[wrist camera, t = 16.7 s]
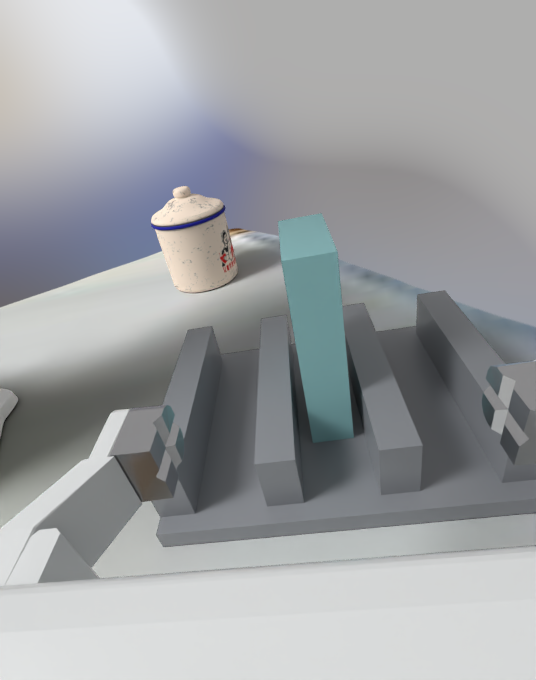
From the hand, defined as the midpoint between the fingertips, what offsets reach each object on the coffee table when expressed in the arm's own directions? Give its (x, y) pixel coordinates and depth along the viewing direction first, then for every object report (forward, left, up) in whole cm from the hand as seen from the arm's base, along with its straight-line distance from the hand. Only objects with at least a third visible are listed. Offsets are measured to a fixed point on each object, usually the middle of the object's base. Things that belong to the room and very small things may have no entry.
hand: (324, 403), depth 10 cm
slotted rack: (-6, +10, -13) cm, 17 cm away
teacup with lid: (-32, +29, -13) cm, 45 cm away
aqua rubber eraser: (-6, +10, -12) cm, 16 cm away
